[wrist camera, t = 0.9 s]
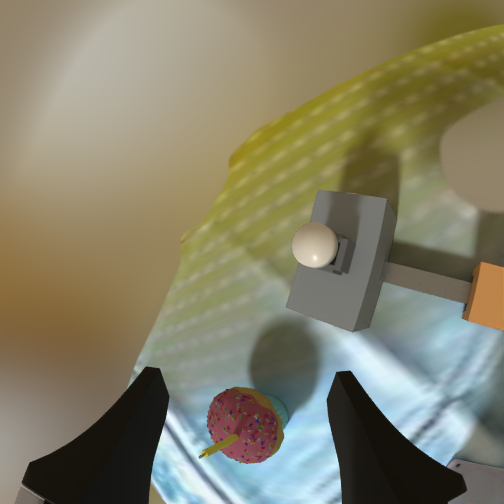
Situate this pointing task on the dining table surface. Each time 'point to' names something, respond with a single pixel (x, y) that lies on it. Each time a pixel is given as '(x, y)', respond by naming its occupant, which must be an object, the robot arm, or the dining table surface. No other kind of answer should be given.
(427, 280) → the rail
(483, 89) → the dining table surface
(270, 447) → the cupcake
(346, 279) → the button box
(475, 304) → the carriage
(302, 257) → the plunger
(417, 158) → the dining table surface
